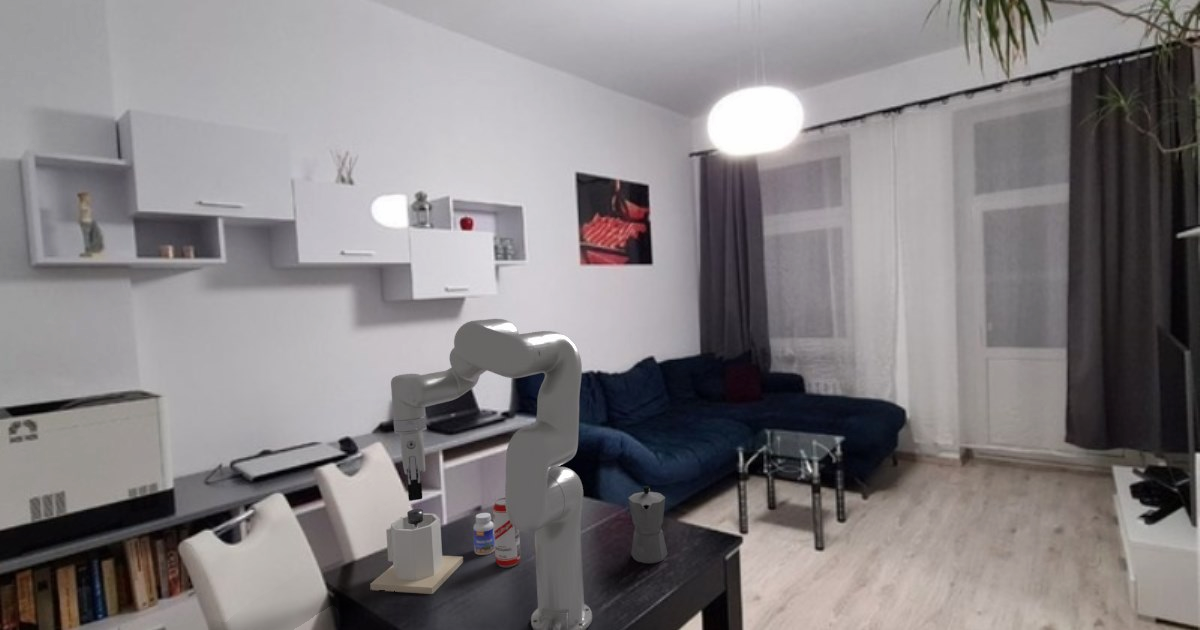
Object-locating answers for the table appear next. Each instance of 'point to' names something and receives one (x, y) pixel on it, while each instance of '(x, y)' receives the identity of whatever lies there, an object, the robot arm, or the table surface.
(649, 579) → the table surface
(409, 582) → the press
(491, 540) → the pill bottle
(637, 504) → the coffeepot
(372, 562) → the table surface
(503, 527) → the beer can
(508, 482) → the robot arm
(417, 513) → the plunger
